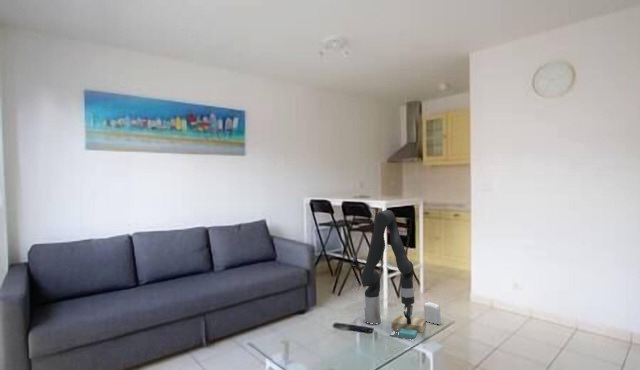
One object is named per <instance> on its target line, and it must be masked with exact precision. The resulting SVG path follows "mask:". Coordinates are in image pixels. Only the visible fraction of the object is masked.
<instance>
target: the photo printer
mask: <svg viewBox="0 0 640 370" xmlns="http://www.w3.org/2000/svg"><path fill="white" fill-rule="evenodd" d="M423 310H424V311H423V312H424V319H426V321H427V322H426V323H429V322H430V324H433V323H434V325H437V324H440V323H441V324H442V321H441V320H442V319H441V307H440V305H438V304H437V303H435V302H429V301H427V302H425V303H424V304H423ZM441 324H440V325H441Z"/></svg>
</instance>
